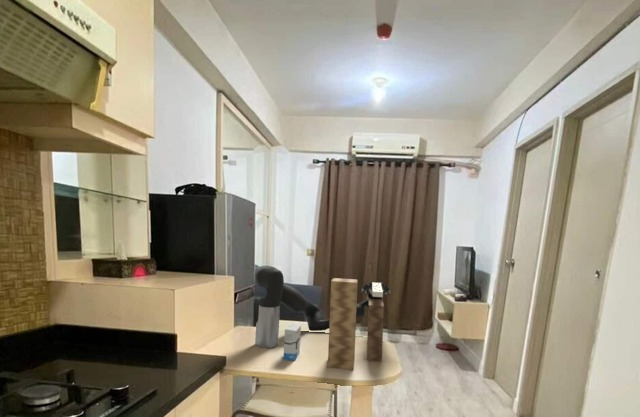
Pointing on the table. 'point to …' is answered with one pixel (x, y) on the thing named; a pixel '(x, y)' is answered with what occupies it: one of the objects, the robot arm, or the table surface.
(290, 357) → the ink box
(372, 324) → the walnut post
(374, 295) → the long ivory domino tile
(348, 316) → the oak post
